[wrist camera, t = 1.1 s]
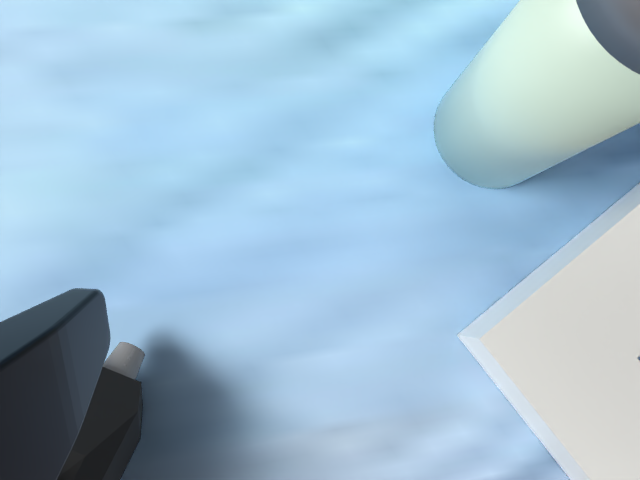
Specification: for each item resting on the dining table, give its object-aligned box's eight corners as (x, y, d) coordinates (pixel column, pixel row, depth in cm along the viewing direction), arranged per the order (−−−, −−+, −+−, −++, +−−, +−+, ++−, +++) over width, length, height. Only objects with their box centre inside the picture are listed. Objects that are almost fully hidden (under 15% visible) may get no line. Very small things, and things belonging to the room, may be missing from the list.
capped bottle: (572, 141, 24) (924, -52, 11) (484, 212, 23) (747, 96, 10) (498, 51, 24) (757, -245, 11) (409, 118, 23) (573, -112, 10)
